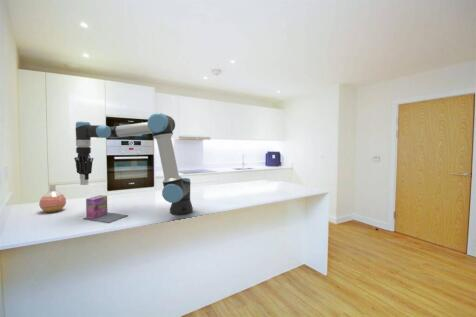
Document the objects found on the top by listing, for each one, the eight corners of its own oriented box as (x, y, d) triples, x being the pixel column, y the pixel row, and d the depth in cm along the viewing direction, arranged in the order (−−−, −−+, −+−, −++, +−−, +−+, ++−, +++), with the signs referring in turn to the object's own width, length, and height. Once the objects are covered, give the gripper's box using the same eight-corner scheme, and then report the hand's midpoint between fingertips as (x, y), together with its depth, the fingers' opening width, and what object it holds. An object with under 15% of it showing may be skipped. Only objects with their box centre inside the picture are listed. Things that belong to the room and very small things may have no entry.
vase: (56, 214, 143) (55, 186, 142) (33, 214, 142) (32, 186, 141) (71, 208, 157) (70, 183, 156) (50, 208, 156) (49, 183, 155)
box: (94, 219, 134) (93, 199, 133) (86, 218, 135) (85, 198, 134) (107, 213, 144) (107, 195, 143) (100, 213, 145) (100, 195, 144)
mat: (127, 216, 142) (127, 215, 142) (109, 223, 129) (109, 222, 129) (103, 212, 148) (103, 211, 148) (83, 219, 135) (83, 218, 135)
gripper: (98, 147, 141) (98, 184, 143) (80, 146, 146) (81, 182, 147) (86, 147, 134) (87, 186, 136) (68, 146, 139) (69, 184, 140)
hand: (84, 184), depth 141 cm, fingers open, 2 cm apart
